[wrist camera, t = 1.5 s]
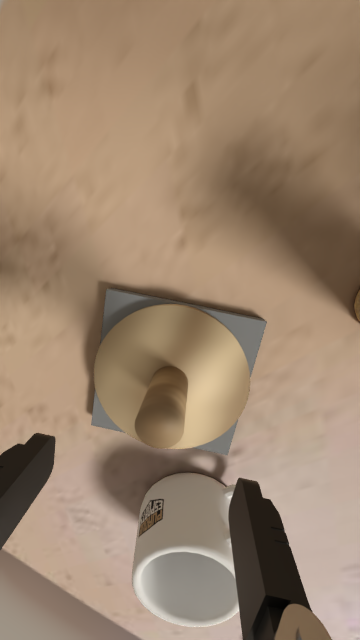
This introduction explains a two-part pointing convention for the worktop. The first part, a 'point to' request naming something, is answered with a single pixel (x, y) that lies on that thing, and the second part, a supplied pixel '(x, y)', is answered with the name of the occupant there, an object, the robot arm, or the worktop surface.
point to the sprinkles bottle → (357, 305)
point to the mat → (240, 325)
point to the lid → (172, 376)
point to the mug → (186, 551)
